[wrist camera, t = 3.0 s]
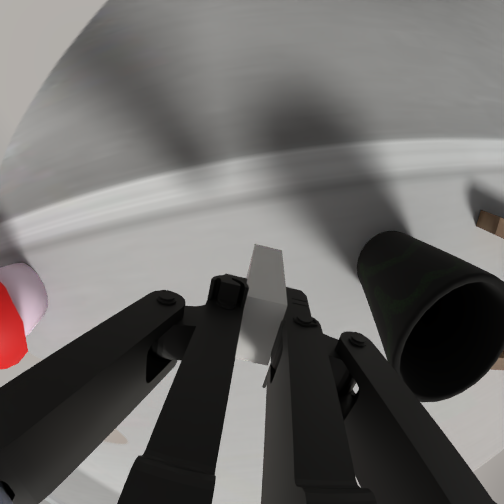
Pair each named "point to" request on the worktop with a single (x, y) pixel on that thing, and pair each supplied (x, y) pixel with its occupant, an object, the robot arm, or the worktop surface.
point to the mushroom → (19, 310)
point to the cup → (432, 314)
